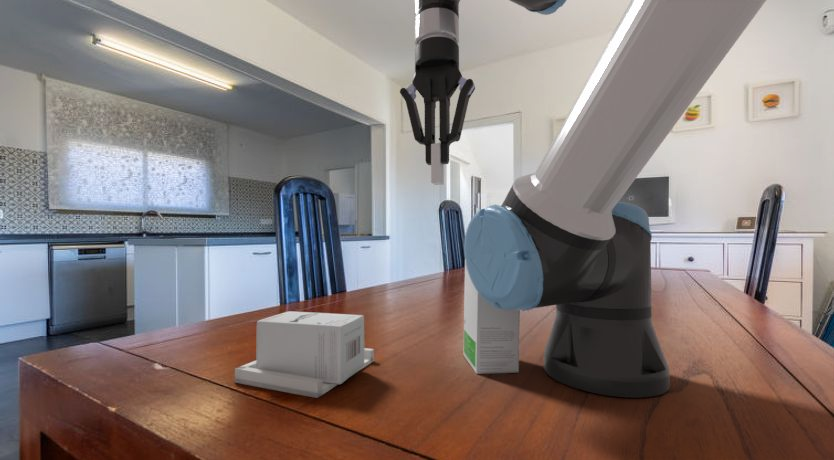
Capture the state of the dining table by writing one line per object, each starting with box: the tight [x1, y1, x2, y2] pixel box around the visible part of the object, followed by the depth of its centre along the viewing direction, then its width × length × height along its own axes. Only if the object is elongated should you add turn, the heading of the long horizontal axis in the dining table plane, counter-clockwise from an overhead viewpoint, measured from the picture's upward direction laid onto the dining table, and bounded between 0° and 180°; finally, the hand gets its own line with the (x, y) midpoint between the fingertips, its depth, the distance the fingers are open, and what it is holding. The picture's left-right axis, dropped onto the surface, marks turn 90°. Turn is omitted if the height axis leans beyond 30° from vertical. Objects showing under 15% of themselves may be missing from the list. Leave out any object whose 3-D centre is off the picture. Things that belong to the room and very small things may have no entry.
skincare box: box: [462, 259, 521, 375], centre depth 54 cm, size 8×7×16 cm
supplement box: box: [255, 310, 365, 385], centre depth 50 cm, size 7×7×13 cm
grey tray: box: [234, 347, 375, 399], centre depth 51 cm, size 13×14×2 cm
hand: (437, 183), depth 61 cm, fingers closed
